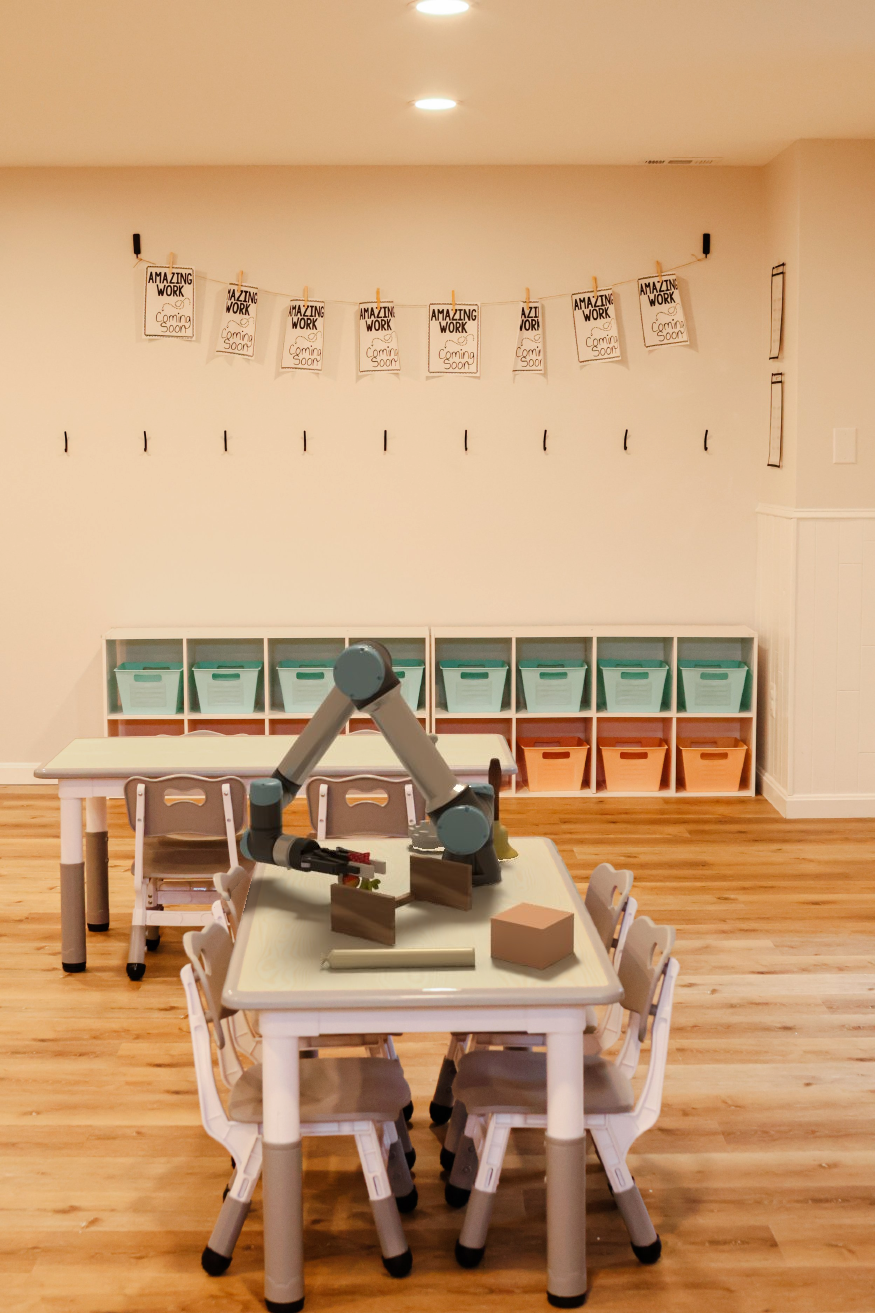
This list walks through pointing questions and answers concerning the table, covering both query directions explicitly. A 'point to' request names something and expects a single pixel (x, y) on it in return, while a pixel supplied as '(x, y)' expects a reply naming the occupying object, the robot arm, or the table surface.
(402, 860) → the table surface
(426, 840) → the flag stand
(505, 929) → the terracotta stand
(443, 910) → the table surface
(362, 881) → the bird rattle
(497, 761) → the handbell
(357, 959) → the tan piece
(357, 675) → the robot arm
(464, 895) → the walnut slot
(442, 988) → the table surface
